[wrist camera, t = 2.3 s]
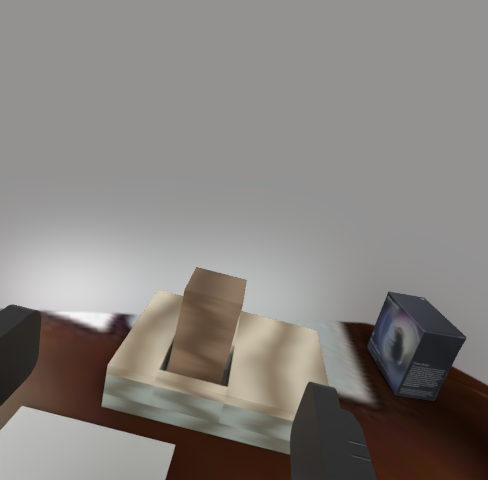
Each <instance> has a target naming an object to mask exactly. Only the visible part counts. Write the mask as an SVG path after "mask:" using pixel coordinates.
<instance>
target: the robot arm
mask: <svg viewBox="0 0 488 480" xmlns="http://www.w3.org/2000/svg"><path fill="white" fill-rule="evenodd" d="M40 328H41V313H40V312H39V311H37V310H33V309H29V308H25V307H21V306H17V305H9V306H7V307H6V308H4V309H3V310H2V311H0V406H1V405H2V404H3V403H4V402H5V401H6V400H7V399H8V398H9V397H10V395H11V394H12V393H13V392H14V391H15V390H16V389H17V388H18V387H19V386H20V385H21V384H22V383H23V382H24V381H25V380H26V379H27V378H28V376H29V375H30V374H31V372H32V371H33V369H34V367H35V365H36V362H37V359H38V354H39V341H40ZM290 459H291V477H292V480H377V477H376V474H375V470H374V467H373V464H372V463H371V457H370V453H369V450H368V448H367V443H366V440H365V436H364V433H363V429H362V427H361V425H360V424H359V422H358V421H357V420H356V418H355V417H354V415H353V414H352V412H351V411H349V410H345V409H341V408H340V403H339V399H338V395H337V391H336V389H335V388H334V387H330V386H326V385H322V384H318V383H314V382H308V384H307V386H306V388H305V391H304V393H303V396H302V399H301V402H300V404H299V407H298V410H297V412H296V415H295V418H294V420H293V424H292V428H291V434H290Z"/></svg>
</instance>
